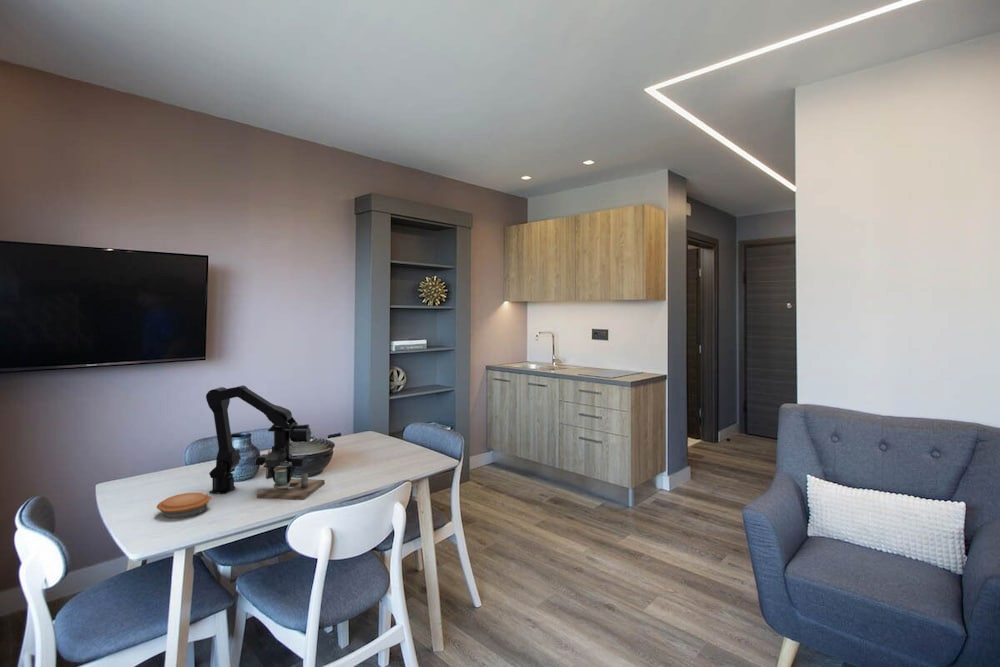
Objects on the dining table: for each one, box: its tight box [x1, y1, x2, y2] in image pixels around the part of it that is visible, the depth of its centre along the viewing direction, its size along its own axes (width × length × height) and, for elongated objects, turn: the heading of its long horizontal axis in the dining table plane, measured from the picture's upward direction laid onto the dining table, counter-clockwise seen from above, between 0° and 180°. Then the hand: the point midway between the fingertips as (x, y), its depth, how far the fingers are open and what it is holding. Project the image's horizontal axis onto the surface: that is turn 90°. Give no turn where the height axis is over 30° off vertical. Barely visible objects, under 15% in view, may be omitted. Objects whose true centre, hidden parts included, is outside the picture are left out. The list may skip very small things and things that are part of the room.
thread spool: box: [273, 466, 290, 490], centre depth 189 cm, size 6×6×7 cm
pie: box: [156, 492, 212, 519], centre depth 167 cm, size 16×16×5 cm
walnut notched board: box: [255, 472, 326, 501], centre depth 189 cm, size 18×18×6 cm
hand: (281, 482), depth 189 cm, fingers closed on thread spool, 5 cm apart
